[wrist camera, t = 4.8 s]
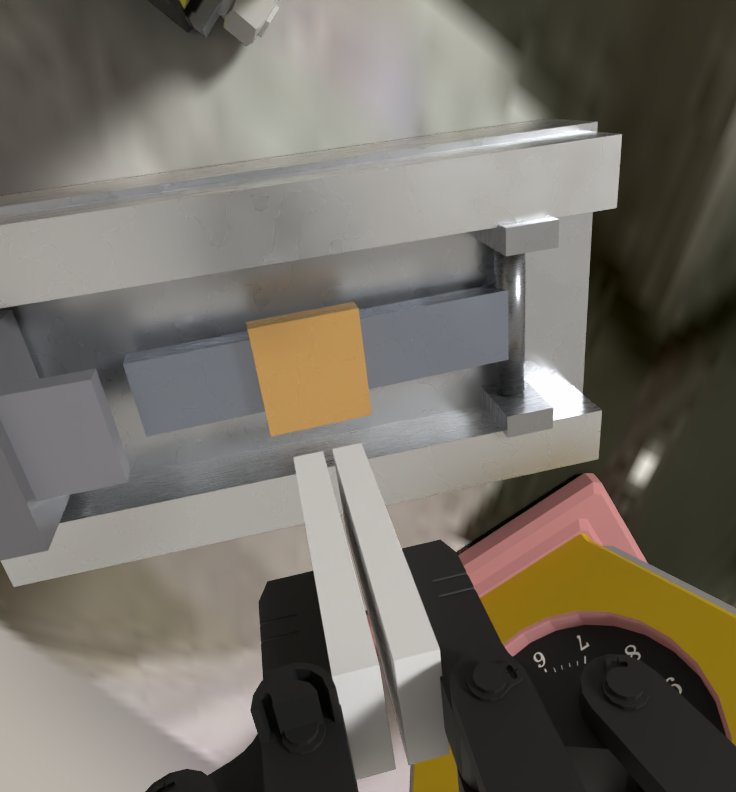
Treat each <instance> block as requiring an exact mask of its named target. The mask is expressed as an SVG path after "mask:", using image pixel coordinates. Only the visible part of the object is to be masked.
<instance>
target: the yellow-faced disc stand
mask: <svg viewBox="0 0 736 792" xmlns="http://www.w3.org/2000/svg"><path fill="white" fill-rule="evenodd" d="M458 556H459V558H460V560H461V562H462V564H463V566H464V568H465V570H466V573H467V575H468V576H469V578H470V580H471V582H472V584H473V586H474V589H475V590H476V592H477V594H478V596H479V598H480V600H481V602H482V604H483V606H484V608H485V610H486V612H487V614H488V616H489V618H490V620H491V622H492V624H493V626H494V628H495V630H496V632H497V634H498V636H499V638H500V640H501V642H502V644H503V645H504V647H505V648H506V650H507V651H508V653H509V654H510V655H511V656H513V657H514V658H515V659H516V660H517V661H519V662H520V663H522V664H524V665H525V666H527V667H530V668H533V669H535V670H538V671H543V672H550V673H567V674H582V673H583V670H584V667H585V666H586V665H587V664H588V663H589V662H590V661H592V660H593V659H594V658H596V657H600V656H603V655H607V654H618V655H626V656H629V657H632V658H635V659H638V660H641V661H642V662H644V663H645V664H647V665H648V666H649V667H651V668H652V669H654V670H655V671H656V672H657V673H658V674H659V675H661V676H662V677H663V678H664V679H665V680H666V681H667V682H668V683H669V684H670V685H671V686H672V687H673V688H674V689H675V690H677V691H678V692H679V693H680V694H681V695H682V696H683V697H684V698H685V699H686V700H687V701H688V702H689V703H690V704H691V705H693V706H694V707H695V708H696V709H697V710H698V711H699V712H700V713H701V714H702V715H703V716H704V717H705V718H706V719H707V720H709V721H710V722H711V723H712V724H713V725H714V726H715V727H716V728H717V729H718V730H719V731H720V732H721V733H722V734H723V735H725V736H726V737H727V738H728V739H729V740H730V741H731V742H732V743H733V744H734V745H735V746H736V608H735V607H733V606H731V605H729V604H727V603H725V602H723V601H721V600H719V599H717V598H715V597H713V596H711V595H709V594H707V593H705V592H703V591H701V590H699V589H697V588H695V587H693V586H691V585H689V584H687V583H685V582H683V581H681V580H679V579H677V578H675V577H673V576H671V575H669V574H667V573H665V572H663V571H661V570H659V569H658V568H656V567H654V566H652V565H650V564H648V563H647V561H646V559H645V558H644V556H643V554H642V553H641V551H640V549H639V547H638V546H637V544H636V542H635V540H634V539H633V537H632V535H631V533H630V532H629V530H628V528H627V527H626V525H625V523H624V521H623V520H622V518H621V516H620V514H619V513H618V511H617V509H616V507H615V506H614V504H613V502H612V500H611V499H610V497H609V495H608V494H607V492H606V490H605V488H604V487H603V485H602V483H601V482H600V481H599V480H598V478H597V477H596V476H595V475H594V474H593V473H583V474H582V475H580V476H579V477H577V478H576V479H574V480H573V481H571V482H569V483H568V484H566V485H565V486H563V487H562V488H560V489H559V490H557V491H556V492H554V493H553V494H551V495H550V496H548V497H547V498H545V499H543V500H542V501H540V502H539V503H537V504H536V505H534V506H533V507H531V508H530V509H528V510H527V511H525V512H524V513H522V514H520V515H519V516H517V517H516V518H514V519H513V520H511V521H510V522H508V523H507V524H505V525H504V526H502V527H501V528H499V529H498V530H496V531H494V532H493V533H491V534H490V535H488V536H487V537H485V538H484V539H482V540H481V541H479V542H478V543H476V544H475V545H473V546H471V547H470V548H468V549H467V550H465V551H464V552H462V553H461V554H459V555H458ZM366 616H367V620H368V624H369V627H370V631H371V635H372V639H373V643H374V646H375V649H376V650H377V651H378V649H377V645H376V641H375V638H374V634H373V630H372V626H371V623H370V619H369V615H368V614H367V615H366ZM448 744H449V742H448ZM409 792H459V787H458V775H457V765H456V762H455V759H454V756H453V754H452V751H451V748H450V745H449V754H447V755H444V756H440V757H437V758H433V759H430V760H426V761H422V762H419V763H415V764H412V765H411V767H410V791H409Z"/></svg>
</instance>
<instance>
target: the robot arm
mask: <svg viewBox="0 0 736 792" xmlns="http://www.w3.org/2000/svg"><path fill="white" fill-rule="evenodd" d="M332 451H333V457H334V463H335V468H336V474H337V480H338V486H339V492H340V498H341V504H342V510H343V515H344V521H345V527H346V533H347V537H348V541H349V544H350V548H351V552H352V556H353V559H354V563H355V567H356V570H357V574H358V578H359V582H360V585H361V589H362V593H363V597H364V600H365V604H366V608H367V612H368V615H369V619H370V623H371V626H372V630H373V634H374V638H375V641H376V645H377V649H378V653H379V656H380V660H381V664H382V668H383V671H384V675H385V679H386V683H387V686H388V690H389V694H390V697H391V701H392V705H393V709H394V712H395V716H396V720H397V724H398V727H399V731H400V735H401V739H402V742H403V746H404V750H405V753H406V757H407V761H408V765H412V764H415V763H419V762H422V761H426V760H430V759H433V758H437V757H440V756H444V755H447V754H449V745H450V748H451V751H452V754H453V756H454V759H455V762H456V765H457V775H458V787H459V792H736V746H735V745H734V744H733V743H732V742H731V741H730V740H729V739H728V738H727V737H726V736H725V735H723V734H722V733H721V732H720V731H719V730H718V729H717V728H716V727H715V726H714V725H713V724H712V723H711V722H710V721H709V720H707V719H706V718H705V717H704V716H703V715H702V714H701V713H700V712H699V711H698V710H697V709H696V708H695V707H694V706H693V705H691V704H690V703H689V702H688V701H687V700H686V699H685V698H684V697H683V696H682V695H681V694H680V693H679V692H678V691H677V690H675V689H674V688H673V687H672V686H671V685H670V684H669V683H668V682H667V681H666V680H665V679H664V678H663V677H662V676H661V675H659V674H658V673H657V672H656V671H655V670H654V669H652V668H651V667H649V666H648V665H647V664H645V663H644V662H642V661H641V660H638V659H635V658H632V657H629V656H626V655H618V654H607V655H603V656H600V657H596V658H594V659H593V660H592V661H590V662H589V663H588V664H587V665H586V666H585V667H584V670H583V673H582V674H567V673H550V672H543V671H538V670H535V669H533V668H530V667H527V666H525V665H524V664H522V663H520V662H519V661H517V660H516V659H515V658H514V657H513V656H511V655H510V654H509V653H508V651H507V650H506V648H505V647H504V645H503V644H502V642H501V640H500V638H499V636H498V634H497V632H496V630H495V628H494V626H493V624H492V622H491V620H490V618H489V616H488V614H487V612H486V610H485V608H484V606H483V604H482V602H481V600H480V598H479V596H478V594H477V592H476V590H475V589H474V586H473V584H472V582H471V580H470V578H469V576H468V575H467V573H466V570H465V568H464V566H463V564H462V562H461V560H460V558H459V556H458V554H457V553H456V552H455V551H454V550H453V549H451V548H450V547H449V546H448V545H446V544H445V543H444V542H443V541H441V540H437V541H433V542H428V543H424V544H420V545H415V546H411V547H407V548H403V549H402V548H401V546H400V543H399V540H398V538H397V535H396V532H395V530H394V527H393V524H392V522H391V519H390V517H389V514H388V511H387V509H386V506H385V503H384V501H383V498H382V496H381V493H380V490H379V488H378V485H377V482H376V480H375V477H374V475H373V472H372V469H371V467H370V464H369V461H368V459H367V456H366V453H365V451H364V448H363V446H362V443H359V444H354V445H349V446H344V447H339V448H335V449H332ZM293 459H294V464H295V470H296V476H297V481H298V487H299V492H300V498H301V504H302V509H303V515H304V521H305V526H306V532H307V538H308V543H309V549H310V555H311V560H312V566H313V571H310V572H306V573H302V574H298V575H293V576H289V577H285V578H280V579H276V580H272V581H268V582H267V584H266V586H265V589H264V591H263V593H262V595H261V598H260V600H259V615H260V626H261V627H260V633H261V643H262V644H261V650H262V667H263V680H262V681H261V683H260V685H259V686H258V688H257V690H256V691H255V693H254V695H253V699H252V705H251V713H252V717H253V720H254V723H255V726H256V729H257V732H258V734H257V736H256V737H255V739H254V741H253V742H252V743H251V744H250V745H249V746H248V747H247V749H246V750H245V751H244V752H243V753H241V754H240V755H239V756H237V757H236V758H235V759H233V760H232V761H230V762H229V763H227V764H226V765H224V766H222V767H221V768H219V769H217V770H216V771H214V772H213V773H211V774H209V775H208V776H207V775H206V774H204V773H203V772H201V771H196V770H190V769H185V770H181V771H176V772H172V773H169V774H167V775H166V776H164V777H163V778H161V779H159V780H158V781H156V782H154V783H153V784H152V785H151V786H150V787H149V788H148V790H147V791H146V792H358V787H357V782H356V780H358V779H362V778H365V777H369V776H372V775H376V774H380V773H383V772H387V771H390V770H394V769H396V766H395V760H394V754H393V748H392V741H391V735H390V729H389V722H388V716H387V710H386V703H385V697H384V691H383V685H382V678H381V672H380V666H379V661H378V658H377V654H376V650H375V646H374V643H373V639H372V635H371V631H370V627H369V624H368V620H367V616H366V612H365V608H364V605H363V601H362V597H361V593H360V589H359V586H358V582H357V578H356V574H355V570H354V567H353V563H352V559H351V555H350V551H349V548H348V544H347V540H346V536H345V532H344V529H343V525H342V521H341V517H340V513H339V510H338V506H337V502H336V498H335V495H334V491H333V487H332V483H331V479H330V476H329V472H328V468H327V464H326V460H325V457H324V453H323V451H320V452H315V453H311V454H306V455H301V456H296V457H293ZM448 742H449V744H448Z"/></svg>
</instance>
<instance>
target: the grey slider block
mask: <svg viewBox="0 0 736 792" xmlns="http://www.w3.org/2000/svg"><path fill="white" fill-rule="evenodd" d="M130 471H131V467H130V465H129V462H128V459H127V456H126V453H125V450H124V447H123V445H122V442H121V439H120V436H119V433H118V430H117V427H116V425H115V422H114V419H113V416H112V413H111V410H110V407H109V405H108V402H107V399H106V396H105V393H104V390H103V387H102V384H101V382H100V379H99V376H98V373H97V370H96V369H91V370H85V371H79V372H74V373H68V374H63V375H57V376H51V377H46V378H40V379H39V376H38V374H37V371H36V369H35V366H34V364H33V361H32V359H31V356H30V354H29V351H28V349H27V346H26V344H25V341H24V339H23V336H22V334H21V331H20V329H19V326H18V324H17V321H16V319H15V316H14V314H13V311H12V309H11V310H5V311H0V561H2V560H6V559H11V558H16V557H20V556H25V555H30V554H34V553H39V552H44V551H48V550H49V547H50V545H51V542H52V540H53V537H54V535H55V532H56V530H57V527H58V525H59V522H60V520H61V517H62V515H63V512H64V510H65V507H66V505H67V502H68V500H69V497H70V495H71V494H75V493H80V492H85V491H89V490H94V489H99V488H104V487H109V486H114V485H119V484H124V483H127V482H128V478H129V475H130Z"/></svg>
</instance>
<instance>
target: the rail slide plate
mask: <svg viewBox="0 0 736 792" xmlns="http://www.w3.org/2000/svg"><path fill="white" fill-rule="evenodd" d="M597 123H598V122H594V121H579V120H565V119H550V118H549V119H542V120H535V121H528V122H521V123H513V124H506V125H499V126H492V127H485V128H478V129H471V130H464V131H457V132H449V133H442V134H435V135H428V136H421V137H414V138H407V139H400V140H393V141H385V142H378V143H371V144H364V145H357V146H350V147H343V148H336V149H328V150H321V151H314V152H307V153H300V154H293V155H286V156H279V157H272V158H264V159H257V160H250V161H243V162H236V163H229V164H222V165H215V166H208V167H200V168H193V169H186V170H179V171H172V172H165V173H158V174H151V175H144V176H136V177H129V178H122V179H115V180H108V181H101V182H94V183H87V184H80V185H72V186H65V187H58V188H51V189H44V190H37V191H30V192H23V193H16V194H8V195H1V196H0V311H5V310H11V309H12V311H13V314H14V316H15V319H16V321H17V324H18V326H19V329H20V331H21V334H22V336H23V339H24V341H25V344H26V346H27V349H28V351H29V354H30V356H31V359H32V361H33V364H34V366H35V369H36V371H37V374H38V376H39V379H40V378H46V377H51V376H57V375H63V374H68V373H74V372H79V371H85V370H91V369H96V370H97V373H98V376H99V379H100V382H101V384H102V387H103V390H104V393H105V396H106V399H107V402H108V405H109V407H110V410H111V413H112V416H113V419H114V422H115V425H116V427H117V430H118V433H119V436H120V439H121V442H122V445H123V447H124V450H125V453H126V456H127V459H128V462H129V465H130V467H131V471H130V475H129V478H128V482H127V483H124V484H119V485H114V486H109V487H104V488H99V489H94V490H89V491H85V492H80V493H75V494H71V495H70V497H69V500H68V502H67V505H66V507H65V510H64V512H63V515H62V517H61V520H60V522H59V525H58V527H57V530H56V532H55V535H54V537H53V540H52V542H51V545H50V547H49V550H48V551H44V552H39V553H34V554H30V555H25V556H20V557H16V558H11V559H6V560H2V561H1V563H2V565H3V567H4V569H5V571H6V573H7V575H8V577H9V579H10V581H11V583H12V585H13V586H14V587H16V586H21V585H26V584H30V583H35V582H39V581H44V580H48V579H53V578H58V577H62V576H67V575H71V574H76V573H80V572H85V571H90V570H94V569H99V568H103V567H108V566H112V565H117V564H121V563H126V562H131V561H135V560H140V559H144V558H149V557H153V556H158V555H163V554H167V553H172V552H176V551H181V550H185V549H190V548H194V547H199V546H204V545H208V544H213V543H217V542H222V541H226V540H231V539H236V538H240V537H245V536H249V535H254V534H258V533H263V532H267V531H272V530H277V529H281V528H286V527H290V526H295V525H299V524H304V523H305V521H304V515H303V509H302V504H301V498H300V492H299V487H298V481H297V476H296V470H295V464H294V459H293V457H296V456H301V455H306V454H311V453H315V452H320V451H323V453H324V457H325V460H326V464H327V468H328V472H329V476H330V479H331V483H332V487H333V491H334V495H335V498H336V502H337V506H338V510H339V513H340V516H341V515H343V510H342V504H341V498H340V492H339V486H338V480H337V474H336V468H335V463H334V457H333V451H332V449H335V448H339V447H344V446H349V445H354V444H359V443H362V446H363V448H364V451H365V453H366V456H367V459H368V461H369V464H370V467H371V469H372V472H373V475H374V477H375V480H376V482H377V485H378V488H379V490H380V493H381V496H382V498H383V501H384V503H385V506H386V505H391V504H395V503H400V502H404V501H409V500H414V499H418V498H423V497H427V496H432V495H436V494H441V493H445V492H450V491H455V490H459V489H464V488H468V487H473V486H477V485H482V484H487V483H491V482H496V481H500V480H505V479H509V478H514V477H519V476H523V475H528V474H532V473H537V472H541V471H546V470H550V469H555V468H560V467H564V466H569V465H573V464H578V463H582V462H587V461H592V460H596V459H598V457H599V443H600V430H601V416H602V410H601V409H600V408H598V407H597V406H596V405H595V404H594V403H593V402H591V401H590V400H589V399H588V398H587V397H585V396H584V395H583V376H584V358H585V340H586V322H587V304H588V286H589V268H590V250H591V232H592V214H593V212H594V211H600V210H607V209H613V208H617V196H618V182H619V169H620V155H621V141H622V134H615V133H605V132H597ZM494 250H496V251H498V252H499V253H501V254H503V255H505V256H511V255H517V254H523V253H526V297H525V391H524V392H523V393H521V394H519V395H515V396H507V395H502V394H500V393H498V392H497V382H496V362H495V363H490V364H485V365H481V366H476V367H471V368H467V369H462V370H457V371H453V372H448V373H443V374H439V375H434V376H429V377H425V378H420V379H415V380H411V381H406V382H401V383H397V384H392V385H387V386H382V387H378V388H373V389H369V396H370V403H371V411H372V415H367V416H363V417H358V418H354V419H349V420H345V421H340V422H336V423H331V424H327V425H322V426H318V427H313V428H309V429H304V430H300V431H295V432H290V433H286V434H281V435H277V436H272V437H271V435H270V431H269V426H268V421H267V417H266V412H261V413H256V414H251V415H247V416H242V417H237V418H233V419H228V420H223V421H219V422H214V423H209V424H205V425H200V426H195V427H191V428H186V429H181V430H177V431H172V432H167V433H163V434H158V435H153V436H148V437H146V434H145V431H144V428H143V425H142V422H141V419H140V415H139V412H138V409H137V406H136V403H135V400H134V397H133V394H132V391H131V388H130V385H129V382H128V379H127V376H126V373H125V369H124V366H123V362H124V359H125V356H126V354H130V353H135V352H140V351H146V350H151V349H156V348H161V347H166V346H172V345H177V344H182V343H187V342H193V341H198V340H203V339H208V338H214V337H219V336H224V335H229V334H235V333H240V332H245V331H248V329H247V324H246V322H249V321H254V320H259V319H265V318H270V317H275V316H281V315H286V314H291V313H296V312H302V311H307V310H312V309H318V308H323V307H328V306H334V305H339V304H344V303H350V302H354V303H355V304H356V305H357V307H358V308H359V310H360V309H366V308H371V307H376V306H381V305H387V304H392V303H397V302H402V301H408V300H413V299H418V298H423V297H428V296H434V295H439V294H444V293H449V292H455V291H460V290H465V289H470V288H476V287H481V286H486V285H491V284H495V266H494Z"/></svg>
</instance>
